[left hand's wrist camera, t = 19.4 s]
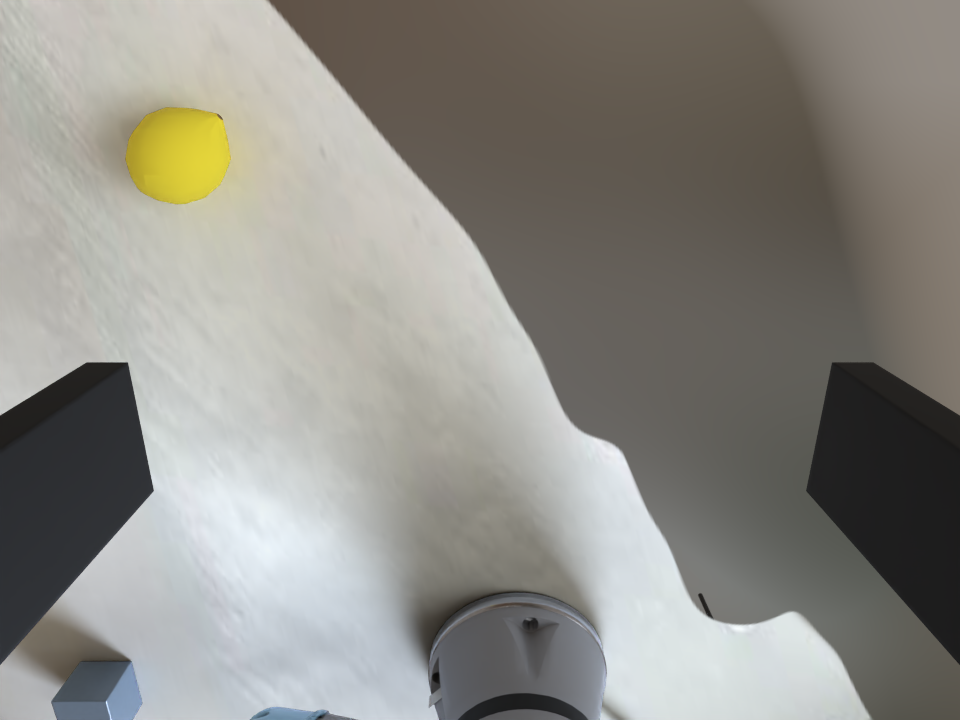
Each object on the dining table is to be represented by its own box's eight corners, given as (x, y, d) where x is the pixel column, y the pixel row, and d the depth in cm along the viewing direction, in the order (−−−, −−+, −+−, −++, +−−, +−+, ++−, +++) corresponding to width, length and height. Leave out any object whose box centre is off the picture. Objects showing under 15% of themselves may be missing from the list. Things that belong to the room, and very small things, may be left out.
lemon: (190, 219, 43) (152, 232, 38) (129, 151, 42) (81, 156, 37) (266, 153, 42) (237, 158, 37) (206, 81, 40) (167, 76, 35)
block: (131, 660, 57) (105, 701, 53) (142, 703, 59) (118, 745, 55) (80, 661, 57) (50, 701, 53) (92, 703, 59) (64, 745, 55)
